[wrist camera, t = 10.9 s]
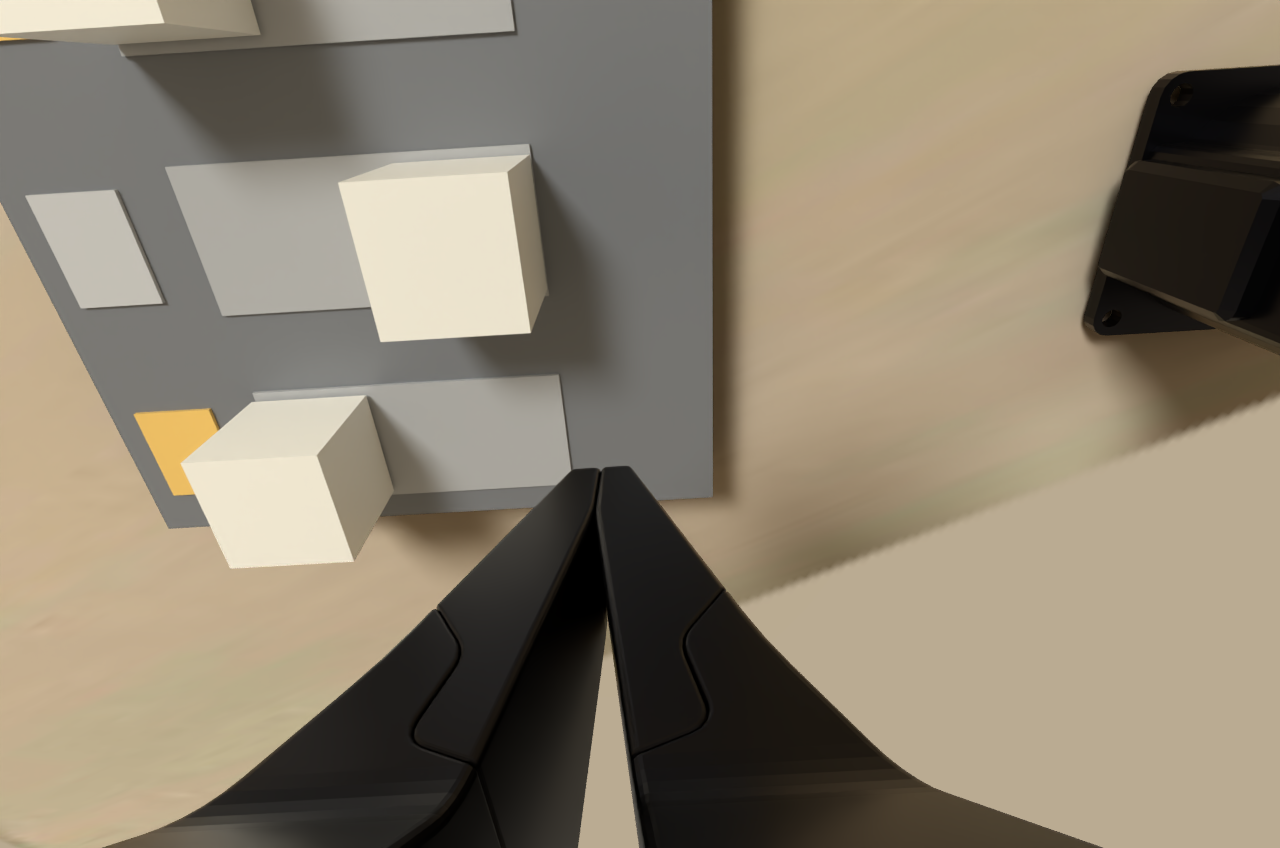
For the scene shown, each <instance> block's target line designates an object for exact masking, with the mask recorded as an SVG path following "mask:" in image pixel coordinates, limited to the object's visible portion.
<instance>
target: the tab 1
mask: <svg viewBox="0 0 1280 848" xmlns="http://www.w3.org/2000/svg"><path fill="white" fill-rule="evenodd" d="M254 35H261V34H260V31H259V27H258V24H257V20H256V17H255V14H254V10H253V7H252V3H251V0H0V37H7V38H21V39H36V40H50V41H65V42H79V43H93V44H108V45H116V44H132V43H147V42H162V41H178V40H193V39H208V38H224V37H239V36H254Z"/></svg>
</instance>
